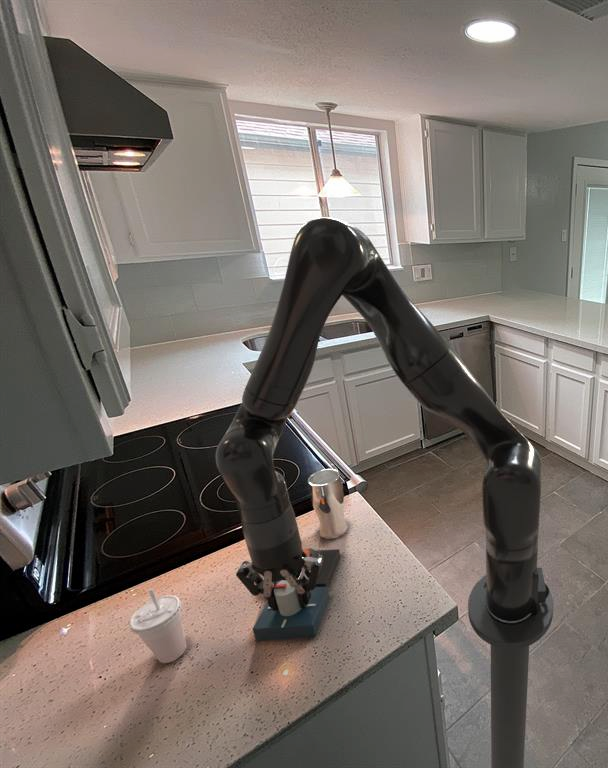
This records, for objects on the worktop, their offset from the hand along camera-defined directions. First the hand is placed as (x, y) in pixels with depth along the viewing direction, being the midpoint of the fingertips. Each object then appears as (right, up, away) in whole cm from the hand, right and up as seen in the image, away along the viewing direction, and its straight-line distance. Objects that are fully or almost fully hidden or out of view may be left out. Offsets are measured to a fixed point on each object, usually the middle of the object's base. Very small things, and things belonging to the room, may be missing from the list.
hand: (291, 604), depth 74 cm
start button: (-3, +4, +9) cm, 10 cm away
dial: (0, 0, 0) cm, 0 cm away
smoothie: (-18, -6, -5) cm, 19 cm away
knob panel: (0, -3, +1) cm, 3 cm away
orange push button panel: (-3, +1, +10) cm, 11 cm away
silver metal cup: (-2, +5, +23) cm, 23 cm away
